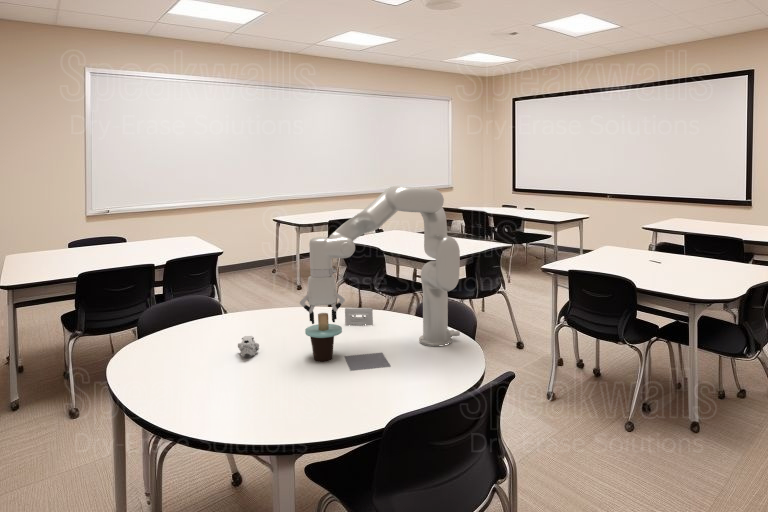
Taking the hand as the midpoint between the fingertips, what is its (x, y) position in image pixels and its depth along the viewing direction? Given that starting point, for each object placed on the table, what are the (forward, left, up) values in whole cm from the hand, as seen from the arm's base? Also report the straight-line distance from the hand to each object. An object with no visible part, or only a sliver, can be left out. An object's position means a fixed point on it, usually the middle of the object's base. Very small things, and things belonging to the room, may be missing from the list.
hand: (323, 321), depth 186 cm
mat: (-14, +8, -14) cm, 21 cm away
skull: (+27, -11, -14) cm, 32 cm away
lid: (0, 0, -4) cm, 4 cm away
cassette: (-19, -36, -14) cm, 43 cm away
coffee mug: (0, 0, -14) cm, 14 cm away
